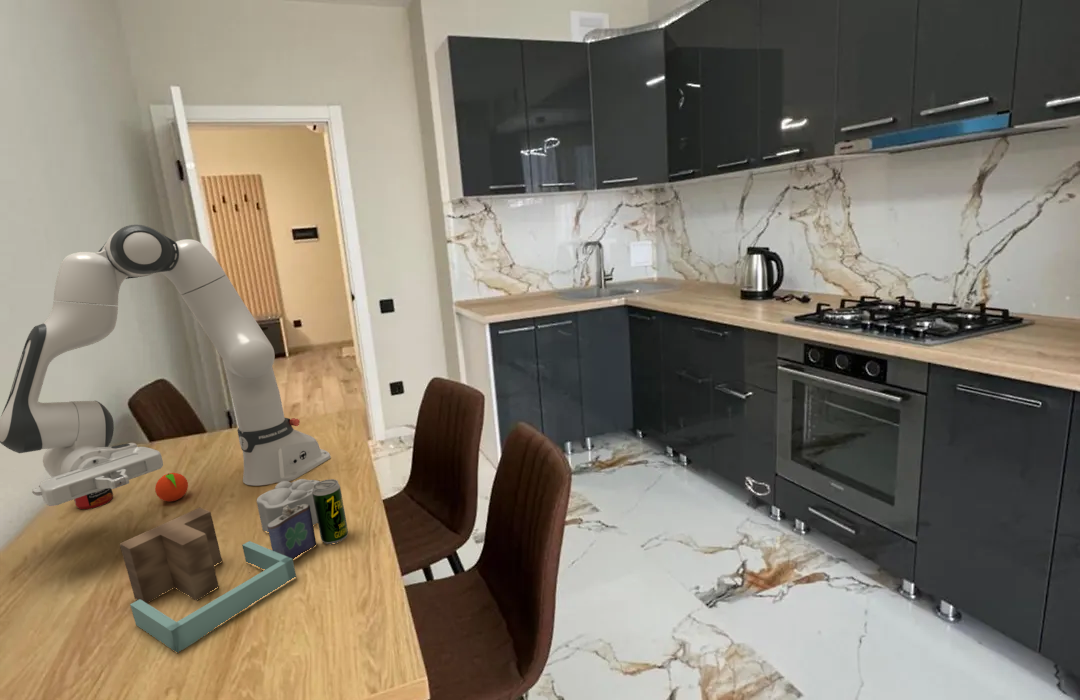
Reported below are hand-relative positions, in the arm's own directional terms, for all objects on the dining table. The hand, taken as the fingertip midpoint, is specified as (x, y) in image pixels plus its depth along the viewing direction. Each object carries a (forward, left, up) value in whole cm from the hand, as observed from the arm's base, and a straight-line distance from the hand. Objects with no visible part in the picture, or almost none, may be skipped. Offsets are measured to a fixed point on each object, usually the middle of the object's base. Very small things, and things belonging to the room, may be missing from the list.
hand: (120, 482), depth 114 cm
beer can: (-23, +31, -17) cm, 43 cm away
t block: (0, +19, -17) cm, 26 cm away
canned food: (-7, -43, -17) cm, 47 cm away
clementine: (-17, -23, -17) cm, 34 cm away
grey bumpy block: (-24, +17, -18) cm, 34 cm away
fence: (0, +29, -17) cm, 34 cm away
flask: (-16, +29, -17) cm, 37 cm away
